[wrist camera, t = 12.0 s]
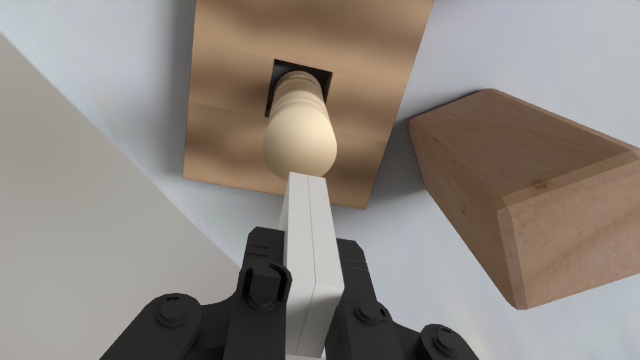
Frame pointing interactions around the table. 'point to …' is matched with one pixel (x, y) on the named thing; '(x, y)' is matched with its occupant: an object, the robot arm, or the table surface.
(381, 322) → the robot arm
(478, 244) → the wooden block
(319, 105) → the peg
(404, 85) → the board
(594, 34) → the table surface
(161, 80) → the table surface
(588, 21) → the table surface
